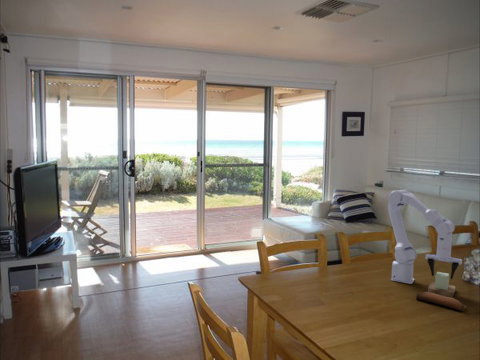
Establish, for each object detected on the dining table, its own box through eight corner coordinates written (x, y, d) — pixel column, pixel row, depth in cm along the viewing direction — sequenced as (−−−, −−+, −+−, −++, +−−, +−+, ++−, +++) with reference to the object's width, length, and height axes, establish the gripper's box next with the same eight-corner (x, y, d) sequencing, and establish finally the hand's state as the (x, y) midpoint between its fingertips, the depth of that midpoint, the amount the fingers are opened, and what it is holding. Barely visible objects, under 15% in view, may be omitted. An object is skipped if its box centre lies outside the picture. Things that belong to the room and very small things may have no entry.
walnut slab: (427, 292, 184) (428, 288, 184) (431, 285, 193) (431, 281, 192) (452, 297, 179) (453, 292, 179) (455, 290, 187) (455, 286, 187)
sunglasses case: (468, 306, 169) (466, 294, 166) (463, 319, 165) (461, 307, 162) (423, 294, 181) (420, 284, 178) (417, 306, 177) (415, 295, 174)
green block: (434, 287, 185) (435, 274, 184) (436, 284, 189) (437, 271, 188) (447, 289, 182) (448, 276, 181) (448, 286, 186) (449, 273, 186)
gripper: (425, 246, 184) (423, 276, 186) (461, 252, 177) (459, 282, 178) (427, 243, 190) (425, 272, 192) (463, 248, 183) (461, 278, 184)
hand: (442, 277), depth 185 cm, fingers open, 7 cm apart
